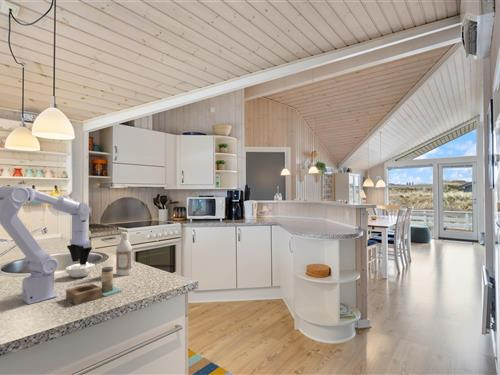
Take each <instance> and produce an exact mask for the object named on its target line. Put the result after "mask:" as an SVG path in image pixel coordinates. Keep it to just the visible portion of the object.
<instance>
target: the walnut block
mask: <svg viewBox="0 0 500 375" xmlns="http://www.w3.org/2000/svg"><path fill="white" fill-rule="evenodd" d="M65 293H66V294H65V300H67V301H69V302H71V303H72V304H74V305H75V306H78V305H82V304H84V303H88V302H91V301H95V300H98V299H102V298H103V296H102V287H100V286H98V285H95V284H93V283H88V284H84V285H80V286H75V287H71V288H68V289H65ZM81 303H82V304H81Z"/></svg>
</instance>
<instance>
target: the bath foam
mask: <svg viewBox="0 0 500 375" xmlns="http://www.w3.org/2000/svg"><path fill="white" fill-rule="evenodd" d="M128 236H129V235H128V232H127V231H123V232H120V241H119V243H118V244H117V246H116V250H115V253H116V254H115V256H116V258H115V262H116V263H115V266H116V267H115V270H116V276H122V277H123V276H128V275H130V274H131V273H132V271H133V269H132V268H133V247H132V245H131V243H130V241H129V240H128Z"/></svg>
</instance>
